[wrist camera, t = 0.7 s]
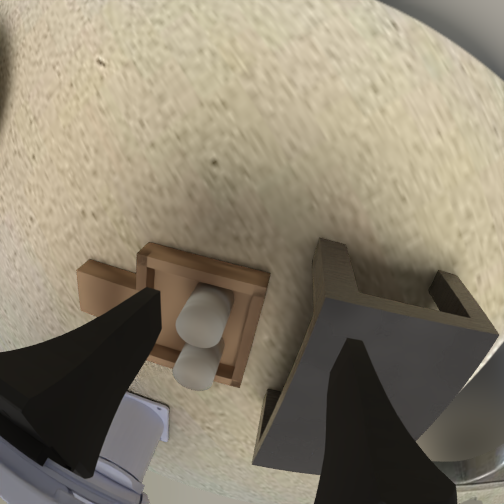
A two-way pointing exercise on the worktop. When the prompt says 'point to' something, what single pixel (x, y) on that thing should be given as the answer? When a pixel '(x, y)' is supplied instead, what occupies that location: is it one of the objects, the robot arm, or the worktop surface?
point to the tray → (175, 297)
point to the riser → (372, 358)
